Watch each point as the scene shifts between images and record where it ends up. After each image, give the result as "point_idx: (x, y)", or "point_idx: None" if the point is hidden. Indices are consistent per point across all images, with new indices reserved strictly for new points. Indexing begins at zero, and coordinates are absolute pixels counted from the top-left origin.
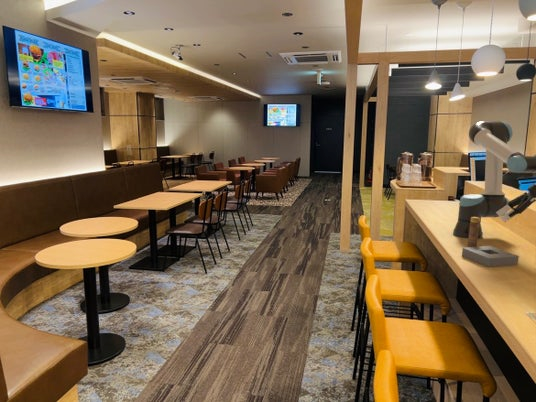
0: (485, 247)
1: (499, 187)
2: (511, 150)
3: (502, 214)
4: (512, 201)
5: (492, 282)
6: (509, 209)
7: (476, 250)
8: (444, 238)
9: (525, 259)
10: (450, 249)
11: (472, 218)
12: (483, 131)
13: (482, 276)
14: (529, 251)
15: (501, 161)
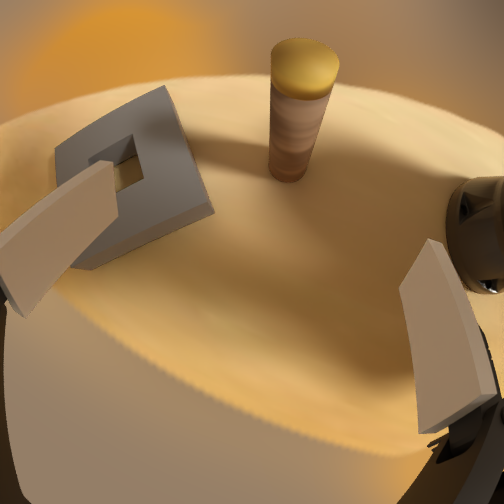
0: (172, 167)
1: None
2: None
3: (407, 312)
4: (489, 491)
5: (12, 150)
6: (422, 404)
7: (130, 122)
8: (413, 121)
9: (160, 344)
10: (256, 87)
11: (286, 41)
12: None
13: (34, 135)
14: (290, 422)
15: None
